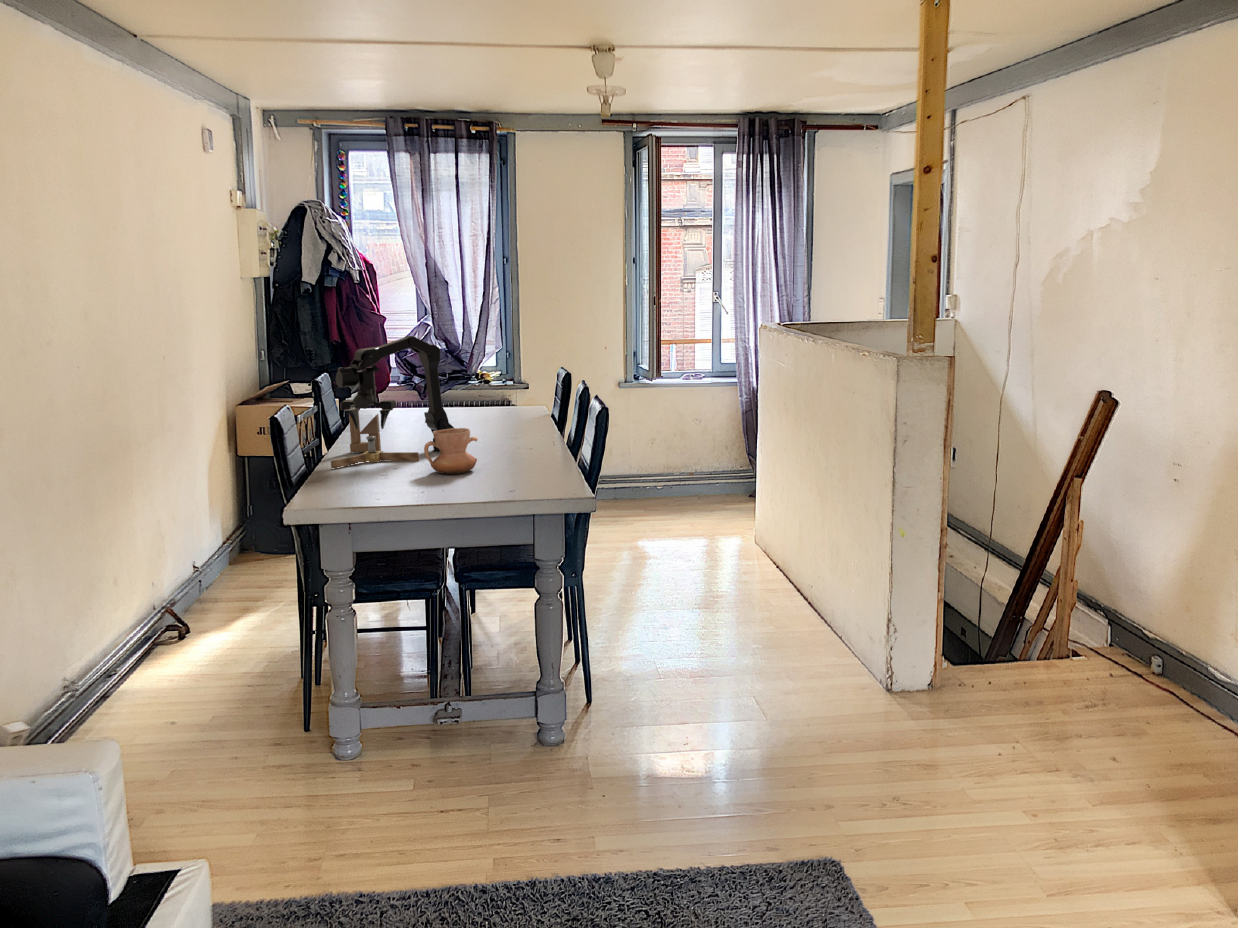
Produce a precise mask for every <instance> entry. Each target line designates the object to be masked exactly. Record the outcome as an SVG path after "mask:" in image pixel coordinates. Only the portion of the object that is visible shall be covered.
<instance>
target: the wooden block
mask: <svg viewBox="0 0 1238 928" xmlns="http://www.w3.org/2000/svg"><path fill="white" fill-rule="evenodd" d="M348 418H349V419H348V422H349V433H350V443H349V450H350V453H351V452H366V451H368V441H361V440H362V439H361V435H368V436H375V437H376V439H375V451H382V446H381V433H380V431H381V430H380V419H379V413H377V414H376V415H374V417H373V418H371V420H370V421H369V422H368V423H367V425H365V427H364V428H363V429H362V430H361V426H360V425H361V424H360V422H359V428H358V429H356V427H355V425H354V422H353V420H352V418H351V416H350V415H349V414H348ZM358 420H359V421H360V413H359V409H358Z"/></svg>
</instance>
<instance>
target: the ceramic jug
mask: <svg viewBox="0 0 1238 928" xmlns="http://www.w3.org/2000/svg"><path fill="white" fill-rule="evenodd" d="M432 435H433V438H434V439H435V442H434V441H433V440H432V441H431V440H430V441H428V442H426V443H425V445H424V447H423V448H424V449H423V453H424V455H425V458H426V459H427V460H428V461H429V464H430V467H431V468H432V469H433V470H434V471H435V472H438V473H440V474H444V475H445V474H446V475H459V473H460V474H464V472H465V473H467V472H469V471H471V470H473V469H474V468H475V466H476V463H477V462H478V458H477V457H474V456H473V455H472V454H470V453H468V452H467V451H466V450H467V447H468V444H470V443H471V442H478V440H479V439H478V437H477V436H471V430H470V428H467V427H454V428H451V429H446V430H445V429H444V430H437V431H433V433H432ZM431 446H432V447H433V446H435V447H437V448H438V449H439V450H440V451H439V452H440V453H439V455H438V456H437V457H435V458H434V459H432V457H431V455H430V453H429V448H430V447H431Z"/></svg>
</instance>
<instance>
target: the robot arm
mask: <svg viewBox="0 0 1238 928" xmlns="http://www.w3.org/2000/svg"><path fill="white" fill-rule="evenodd" d="M408 349H410V350H412V352H414V353H416V354H418V358H419V361H420V364H421V365H422V368H423V369H424V375H425V383H426V392H427V399H428V409H427V411H426V412H424V418H425V419H424V424H426V426H427V427H428V428H429V429H430V431H431V433H432V434H433V431H437V430H444V429H445V430H446V429H451V428H455V427H454V426H453V425H452V424H451V423H450V422H449V417H448V414H447V412H446V410H445V408H444V407H443V402H442V394H441V385H440V376H439V365H440V362H441V348H440V347H439V346H437V345H436V344H431V343H430V344H429V343H428V342H425V341H423V340H421V339H419V338H418V337H416V336H413V335H405V336H404V337H402V338H399V339H396V340H393V341H391V342H387V343H384V344H381V345H379V346H374V347H365V348H360V349H357V350H355V353H354V356H353V359H352V361H351V362H350V364H349V366H348V367H338V368H337V372H336V374H335V375H336V376H335V383H336V385H337V387H338V388H339V389H340V388H351V387H356V386H357V385H358V388H357V390H356V391H357V393H356V395H355V396H354V398H352V399H345V400H342V401H341V402H340V404H339V409H340V410H342V411H343V410H344V413H347V414H348V416H349V415H350V416H351V418H352V420H353V422H354V425H355V427H356V429H358V428H359V423H360V419H359V420H358V410H359V409H363V410H365V409H367V408H380V409H381V410H379V413H380V428H381V430H383V429H384V428H385V425H386V422H387V419H388V416H389V414H390V412H391V411H393V410H394V409H395V408H397V402H396V400H395V399H384V400H381V401H378V397H377V392H376V391H377V390H378V389H377V386H376V379H375V377H376V375H375V372H380V371H381V369H380V368H379V367H378V366H377V365H376V364H377V363H379V362H380V361H382V359H384V358H385V357H388V356H390V355H393V354H396V353H399V352H402V351H405V350H408ZM432 441H434V442H435V439H434V437H432ZM432 447H433V448H432V449H433V450H432V451H433V452H440V450H439V449H438V448H437V447H435V446H432Z"/></svg>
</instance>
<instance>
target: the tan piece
mask: <svg viewBox="0 0 1238 928" xmlns="http://www.w3.org/2000/svg"><path fill="white" fill-rule="evenodd" d="M375 452H376V454H369V452H368V451H366V452H364V453H360V454H357V455H352V456H349V457H348V456H347V457H342V458H337V459H333V460H330V468H337V467H341V466H348V465H351V464H355V463H358V462H366V461H369V462H378V461H380V460H391V461H390V462H419V461H420V455H419V454H420V453H419V452H417V451H416V452H415V451H414V452H409V451H407V452H401V451H399V452H398V451H397V452H394V451H393V452H392V451H391V452H390V451H389V452H386V451H383V450H381V451H375ZM380 462H381V461H380ZM378 463H379V462H378ZM348 467H349V466H348Z"/></svg>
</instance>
